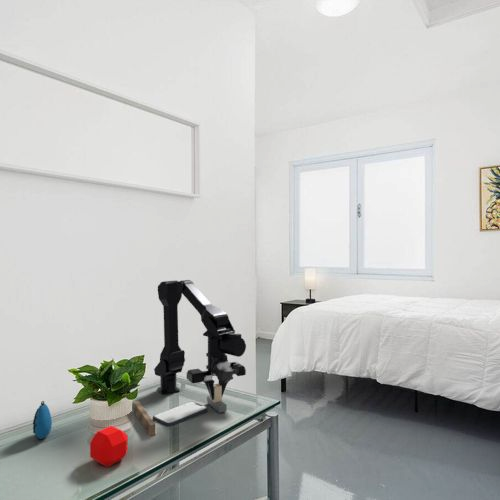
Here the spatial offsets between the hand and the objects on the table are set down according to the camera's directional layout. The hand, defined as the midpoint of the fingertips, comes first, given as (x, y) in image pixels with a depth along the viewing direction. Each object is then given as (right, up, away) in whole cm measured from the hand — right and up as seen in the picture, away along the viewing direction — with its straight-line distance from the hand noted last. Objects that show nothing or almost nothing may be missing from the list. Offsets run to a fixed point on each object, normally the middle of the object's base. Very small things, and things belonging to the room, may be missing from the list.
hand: (216, 398), depth 141 cm
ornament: (-46, -4, -21) cm, 51 cm away
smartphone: (-11, -4, -6) cm, 13 cm away
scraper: (0, -3, 0) cm, 3 cm away
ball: (-24, -4, -34) cm, 42 cm away
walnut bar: (-21, -3, -11) cm, 24 cm away
